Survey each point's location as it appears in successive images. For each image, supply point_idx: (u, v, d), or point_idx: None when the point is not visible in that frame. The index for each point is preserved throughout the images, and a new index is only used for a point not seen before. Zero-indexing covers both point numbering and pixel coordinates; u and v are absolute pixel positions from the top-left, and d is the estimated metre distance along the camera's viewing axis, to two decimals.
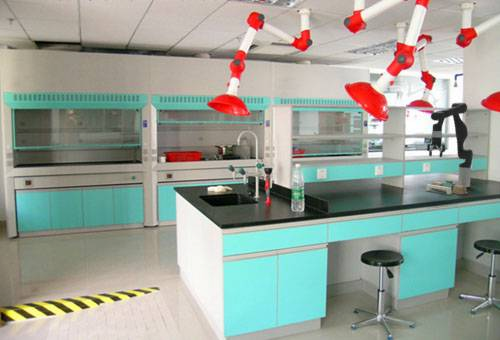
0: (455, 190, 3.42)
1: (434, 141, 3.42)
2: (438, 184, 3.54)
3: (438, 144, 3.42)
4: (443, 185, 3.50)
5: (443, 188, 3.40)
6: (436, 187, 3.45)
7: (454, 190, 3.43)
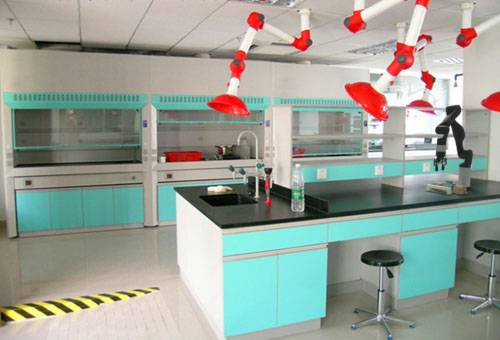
0: (455, 190, 3.42)
1: (445, 155, 3.39)
2: (438, 184, 3.54)
3: (443, 158, 3.43)
4: (443, 185, 3.50)
5: (443, 188, 3.40)
6: (436, 187, 3.45)
7: (454, 190, 3.43)
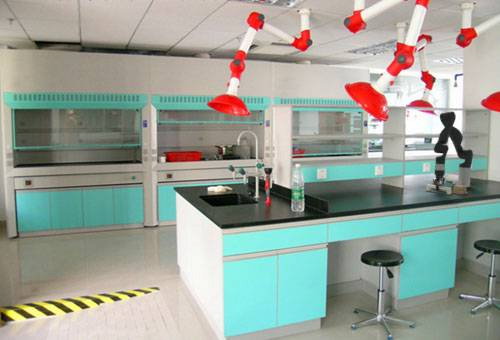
0: (455, 190, 3.42)
1: (443, 174, 3.41)
2: None
3: (442, 176, 3.45)
4: (443, 185, 3.50)
5: (443, 188, 3.40)
6: None
7: (454, 190, 3.43)
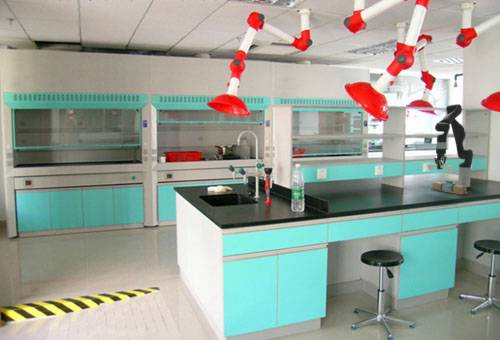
0: (455, 190, 3.42)
1: (445, 152, 3.39)
2: (438, 184, 3.54)
3: (444, 155, 3.42)
4: (443, 185, 3.50)
5: (444, 166, 3.38)
6: None
7: (454, 190, 3.43)
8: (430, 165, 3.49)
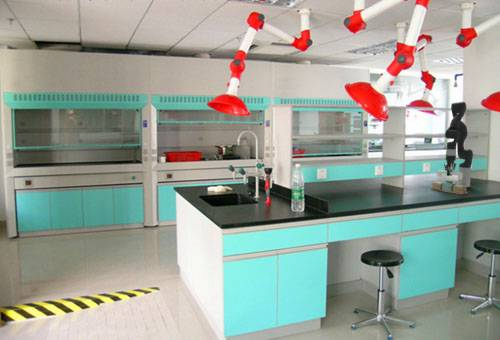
0: (455, 190, 3.42)
1: (455, 159, 3.44)
2: (438, 184, 3.54)
3: (453, 161, 3.48)
4: (443, 185, 3.50)
5: (454, 173, 3.43)
6: None
7: (454, 190, 3.43)
8: (440, 171, 3.54)
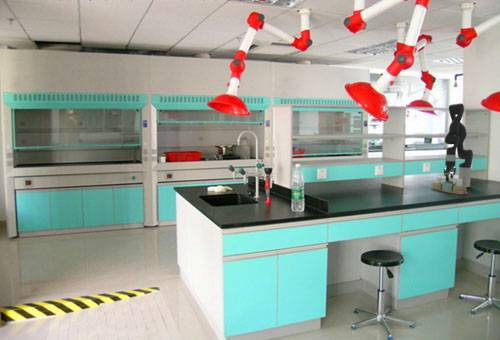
0: (455, 190, 3.42)
1: (454, 165, 3.44)
2: (438, 184, 3.54)
3: (453, 167, 3.48)
4: (443, 185, 3.50)
5: (454, 180, 3.44)
6: None
7: (454, 190, 3.43)
8: (439, 178, 3.54)
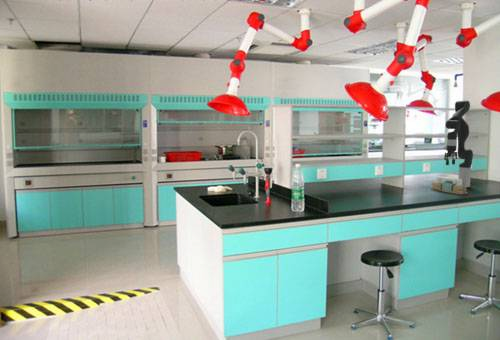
0: (455, 190, 3.42)
1: (455, 149, 3.43)
2: (438, 184, 3.54)
3: (454, 152, 3.46)
4: (443, 185, 3.50)
5: (454, 180, 3.44)
6: (447, 179, 3.49)
7: (454, 190, 3.43)
8: (439, 178, 3.54)
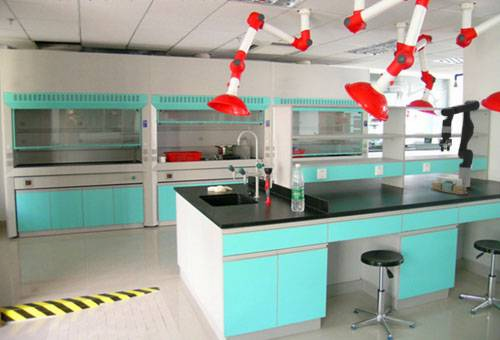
0: (455, 190, 3.42)
1: (450, 136, 3.52)
2: (438, 184, 3.54)
3: (448, 139, 3.56)
4: (443, 185, 3.50)
5: (454, 180, 3.44)
6: (447, 179, 3.49)
7: (454, 190, 3.43)
8: (439, 178, 3.54)
